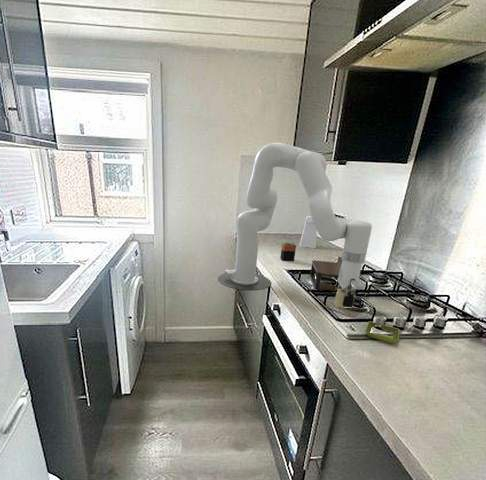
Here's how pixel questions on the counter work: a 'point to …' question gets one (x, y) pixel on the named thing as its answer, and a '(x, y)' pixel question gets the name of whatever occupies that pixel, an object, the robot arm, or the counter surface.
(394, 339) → the green square frame
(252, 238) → the robot arm
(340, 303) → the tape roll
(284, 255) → the battery
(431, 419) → the counter surface
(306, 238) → the grater
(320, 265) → the rack
